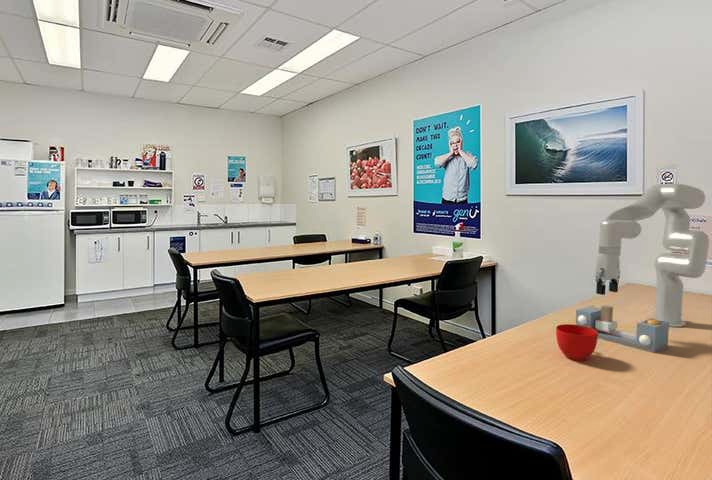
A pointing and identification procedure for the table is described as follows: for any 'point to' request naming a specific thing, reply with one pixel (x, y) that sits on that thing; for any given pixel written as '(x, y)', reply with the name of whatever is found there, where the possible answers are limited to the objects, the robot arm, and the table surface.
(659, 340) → the rail bed
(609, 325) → the carriage
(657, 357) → the table surface
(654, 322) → the button
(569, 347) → the ceramic cup
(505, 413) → the table surface
